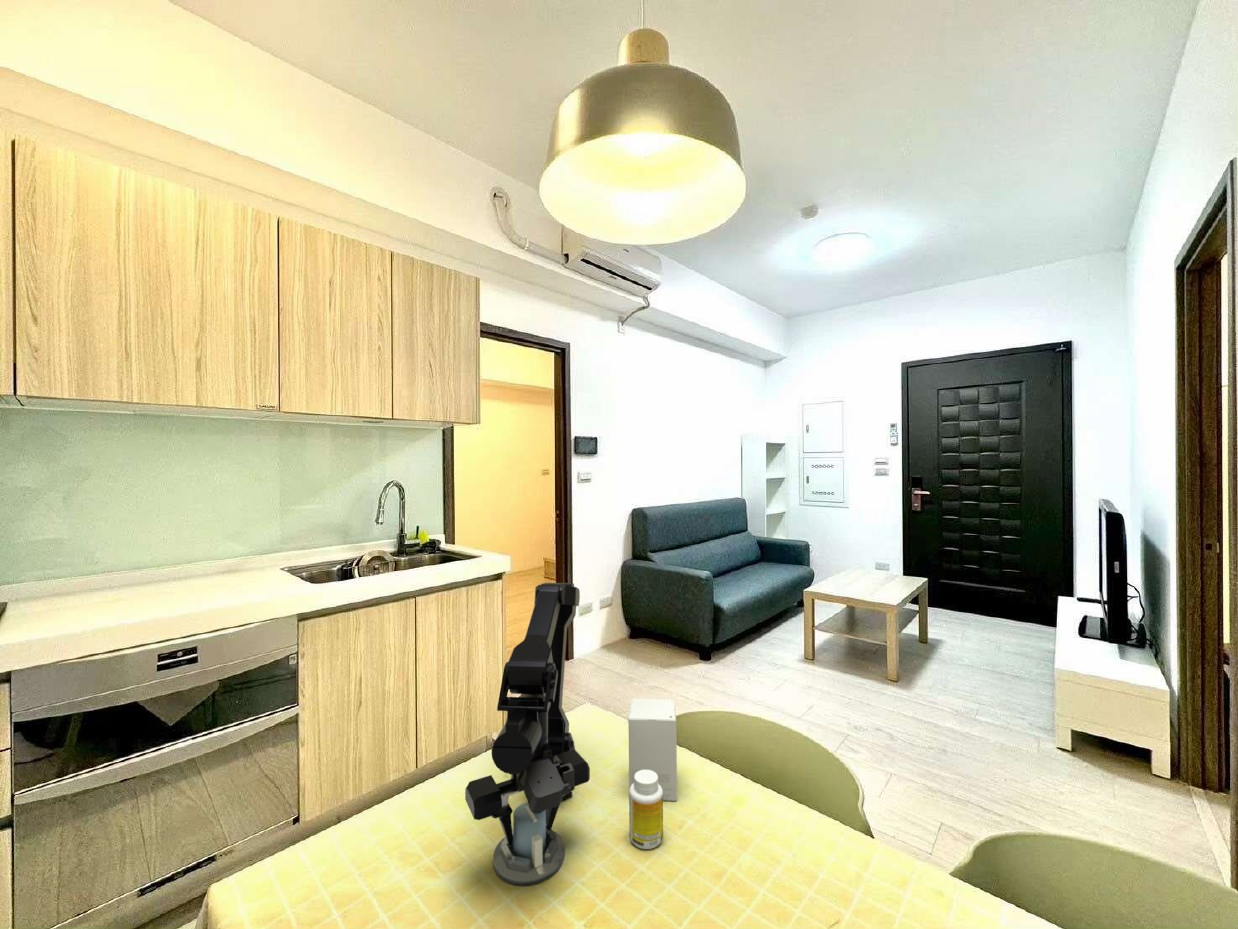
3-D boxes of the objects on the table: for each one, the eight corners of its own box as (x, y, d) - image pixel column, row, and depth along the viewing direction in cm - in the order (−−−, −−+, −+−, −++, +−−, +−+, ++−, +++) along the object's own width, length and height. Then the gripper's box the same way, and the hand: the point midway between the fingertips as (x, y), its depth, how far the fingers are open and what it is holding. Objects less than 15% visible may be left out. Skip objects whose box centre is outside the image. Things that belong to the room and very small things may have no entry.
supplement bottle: (668, 846, 82) (668, 782, 82) (636, 855, 80) (636, 789, 80) (654, 823, 87) (654, 763, 87) (624, 831, 85) (624, 770, 85)
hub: (548, 824, 87) (548, 810, 87) (576, 867, 78) (576, 851, 78) (484, 848, 81) (484, 833, 82) (506, 898, 72) (506, 880, 72)
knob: (509, 847, 80) (508, 807, 81) (538, 835, 83) (538, 797, 83) (522, 873, 75) (522, 831, 75) (554, 860, 78) (553, 819, 78)
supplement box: (676, 773, 102) (676, 698, 102) (677, 802, 93) (677, 720, 93) (631, 771, 103) (630, 696, 103) (627, 799, 94) (627, 718, 94)
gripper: (485, 781, 68) (485, 899, 68) (606, 743, 78) (606, 846, 78) (464, 743, 78) (464, 846, 78) (574, 713, 87) (574, 805, 87)
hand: (529, 836), depth 80 cm, fingers open, 6 cm apart
